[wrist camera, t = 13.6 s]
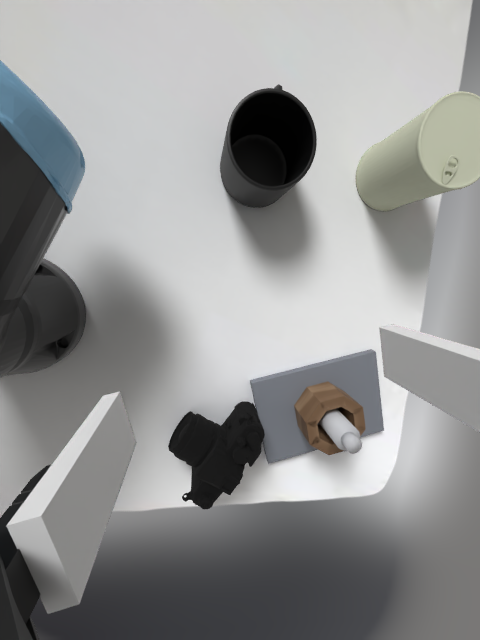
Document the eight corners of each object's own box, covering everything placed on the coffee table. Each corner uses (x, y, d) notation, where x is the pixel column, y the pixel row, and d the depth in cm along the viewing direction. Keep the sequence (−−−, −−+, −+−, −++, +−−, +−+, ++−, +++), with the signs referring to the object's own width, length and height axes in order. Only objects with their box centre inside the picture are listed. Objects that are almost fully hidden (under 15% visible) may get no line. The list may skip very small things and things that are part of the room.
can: (347, 200, 39) (409, 172, 28) (367, 131, 38) (441, 71, 26) (402, 219, 41) (483, 199, 29) (423, 154, 40) (517, 106, 28)
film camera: (214, 375, 41) (218, 404, 33) (263, 408, 44) (279, 443, 35) (154, 453, 42) (142, 501, 34) (205, 481, 45) (207, 533, 36)
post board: (266, 458, 45) (286, 515, 35) (249, 380, 42) (266, 417, 32) (379, 426, 47) (430, 471, 37) (371, 349, 44) (423, 374, 34)
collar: (300, 438, 44) (312, 460, 39) (291, 391, 42) (303, 407, 37) (349, 424, 45) (367, 443, 40) (342, 377, 43) (361, 391, 38)
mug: (301, 122, 37) (333, 76, 28) (280, 215, 38) (304, 200, 30) (231, 99, 35) (242, 43, 26) (213, 198, 37) (218, 176, 28)
